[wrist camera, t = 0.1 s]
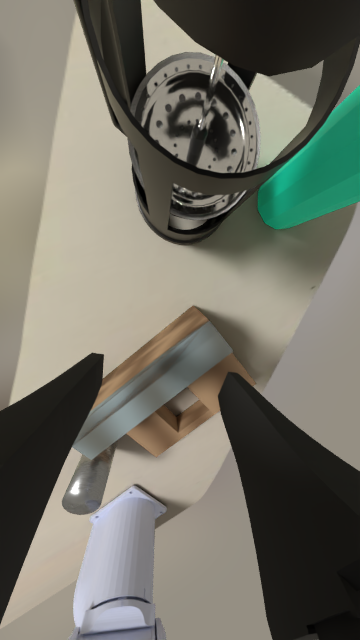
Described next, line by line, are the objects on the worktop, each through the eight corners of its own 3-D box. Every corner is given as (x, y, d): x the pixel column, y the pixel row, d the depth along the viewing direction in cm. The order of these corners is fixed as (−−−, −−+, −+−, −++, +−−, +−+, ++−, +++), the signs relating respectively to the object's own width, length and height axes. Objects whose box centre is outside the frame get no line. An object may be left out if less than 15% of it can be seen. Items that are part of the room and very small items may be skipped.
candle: (318, 172, 17) (630, -35, 6) (299, 234, 19) (519, 168, 7) (265, 157, 16) (507, -119, 5) (250, 223, 18) (410, 128, 6)
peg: (105, 449, 23) (82, 519, 17) (85, 435, 23) (53, 503, 16) (124, 435, 23) (109, 500, 16) (105, 420, 22) (80, 482, 16)
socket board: (156, 439, 24) (154, 502, 17) (93, 386, 21) (60, 439, 14) (246, 372, 23) (281, 412, 16) (193, 305, 19) (209, 320, 13)
